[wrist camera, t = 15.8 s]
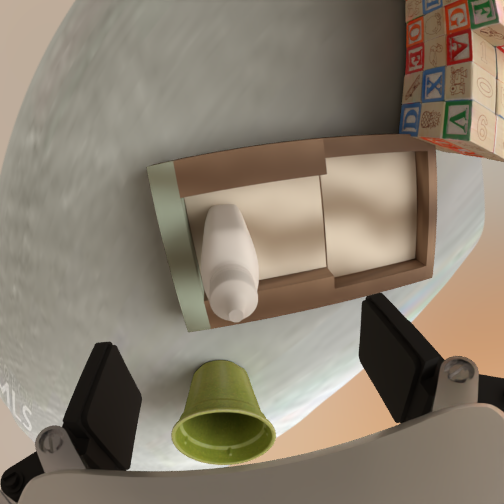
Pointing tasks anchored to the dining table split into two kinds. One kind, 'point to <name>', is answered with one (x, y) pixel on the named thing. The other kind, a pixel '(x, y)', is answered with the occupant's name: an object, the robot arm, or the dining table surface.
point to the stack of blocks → (455, 76)
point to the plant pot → (222, 418)
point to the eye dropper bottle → (229, 264)
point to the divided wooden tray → (304, 219)
